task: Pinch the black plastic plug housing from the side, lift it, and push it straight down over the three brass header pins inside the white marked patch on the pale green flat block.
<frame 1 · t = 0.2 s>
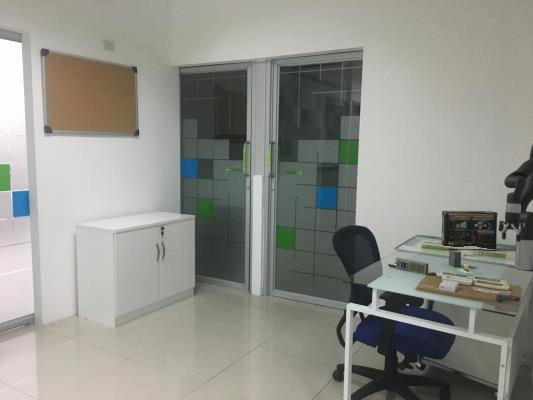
hand: (510, 240, 255), 18 cm above the table, tool pointing down, fingers open, 8 cm apart
pale green flat block: (460, 270, 258), on the table
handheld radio: (407, 271, 259), on the table
plug housing: (454, 266, 264), point 1 cm above the table, touching pale green flat block
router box: (467, 249, 323), on the table
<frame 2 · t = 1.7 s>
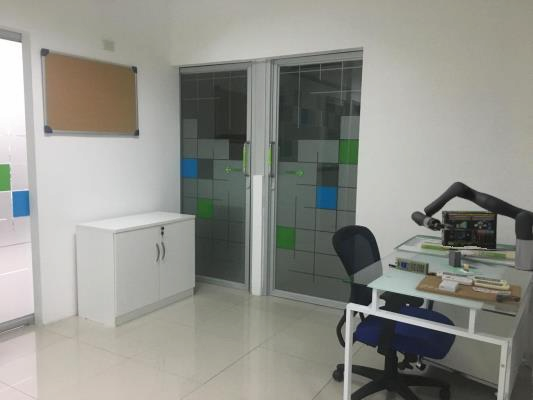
hand: (446, 229, 271), 21 cm above the table, tool horizontal, fingers open, 8 cm apart
nothing on the table moved.
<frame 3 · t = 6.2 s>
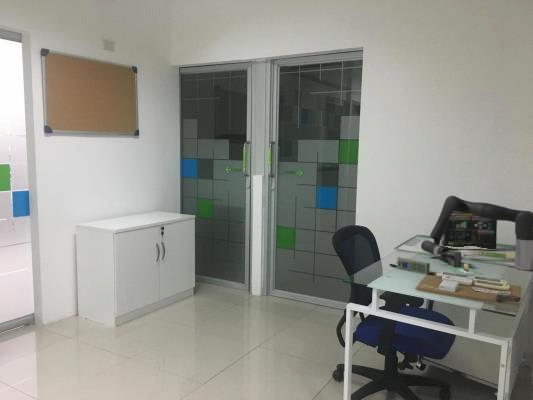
hand: (457, 258, 261), 7 cm above the table, tool horizontal, fingers closed on plug housing, 3 cm apart
plug housing: (454, 266, 264), point 1 cm above the table, touching pale green flat block, gripper
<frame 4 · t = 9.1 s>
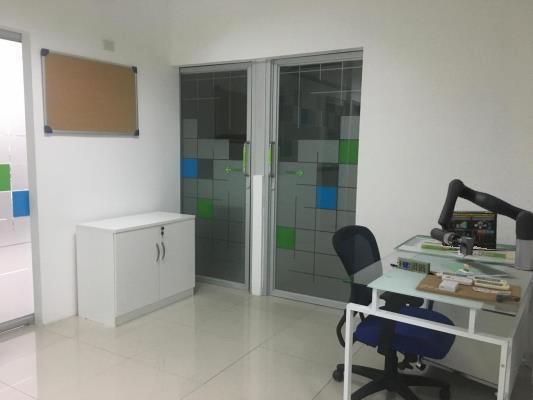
hand: (469, 245, 249), 16 cm above the table, tool horizontal, fingers closed on plug housing, 3 cm apart
plug housing: (466, 253, 252), point 11 cm above the table, touching gripper
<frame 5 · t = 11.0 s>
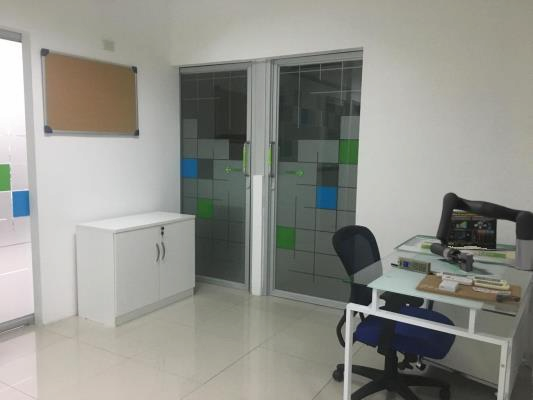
hand: (469, 261, 249), 7 cm above the table, tool horizontal, fingers closed on plug housing, 3 cm apart
plug housing: (465, 269, 252), point 2 cm above the table, touching gripper
when the fingers open (7 cm above the table, at t = 11.5 s): plug housing stays where it is, resting on pale green flat block.
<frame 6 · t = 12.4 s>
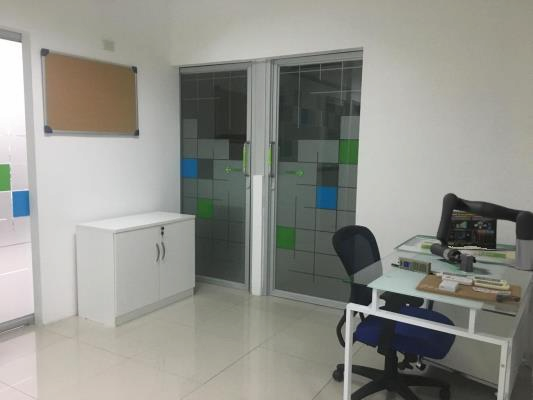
hand: (468, 261, 250), 7 cm above the table, tool horizontal, fingers open, 8 cm apart
plug housing: (466, 270, 252), point 1 cm above the table, touching pale green flat block
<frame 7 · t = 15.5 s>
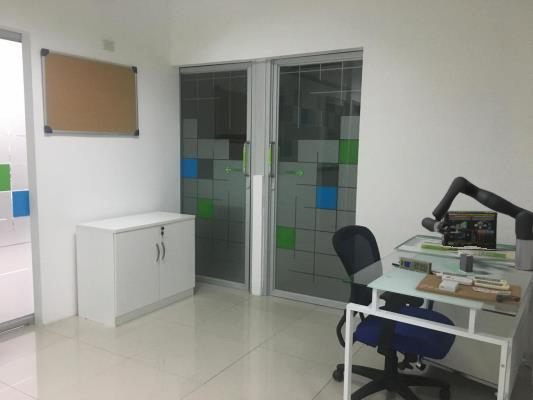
hand: (457, 231, 262), 22 cm above the table, tool horizontal, fingers open, 8 cm apart
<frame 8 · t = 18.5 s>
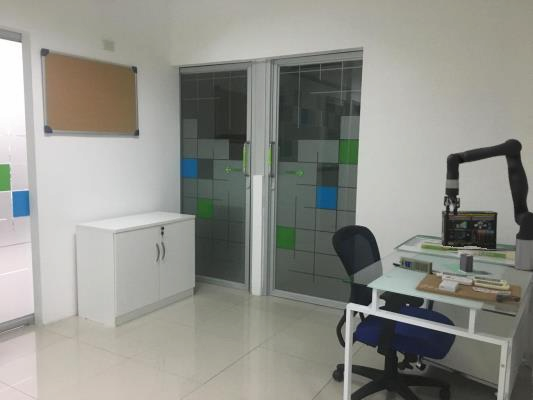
hand: (451, 214, 274), 30 cm above the table, tool pointing down, fingers open, 8 cm apart
at the end: plug housing 0.0 cm from the target spot, point 1.3 cm above the table; plug housing tilted 0°; the gripper is holding nothing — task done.
